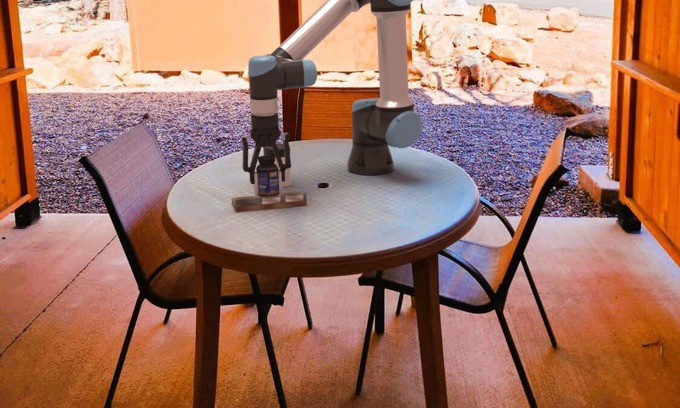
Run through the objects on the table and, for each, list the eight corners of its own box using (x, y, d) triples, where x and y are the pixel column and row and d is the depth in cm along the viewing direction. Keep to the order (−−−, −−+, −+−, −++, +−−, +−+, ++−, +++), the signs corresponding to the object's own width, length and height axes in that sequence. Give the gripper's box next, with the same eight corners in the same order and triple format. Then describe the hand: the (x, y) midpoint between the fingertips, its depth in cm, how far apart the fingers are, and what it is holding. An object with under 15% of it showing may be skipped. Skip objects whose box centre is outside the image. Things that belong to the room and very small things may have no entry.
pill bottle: (273, 198, 218) (272, 160, 215) (253, 197, 220) (251, 159, 217) (282, 192, 224) (280, 155, 220) (263, 190, 226) (261, 153, 222)
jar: (271, 189, 235) (270, 151, 231) (259, 183, 242) (257, 145, 238) (297, 184, 240) (296, 146, 236) (284, 178, 246) (282, 141, 243)
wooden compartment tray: (300, 196, 228) (300, 185, 227) (307, 205, 220) (306, 194, 219) (231, 202, 224) (231, 190, 223) (235, 212, 215) (235, 200, 214)
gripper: (295, 108, 220) (298, 187, 228) (228, 112, 216) (232, 192, 223) (301, 113, 213) (303, 194, 221) (231, 118, 209) (236, 200, 216)
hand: (268, 193), depth 222 cm, fingers closed on pill bottle, 6 cm apart
